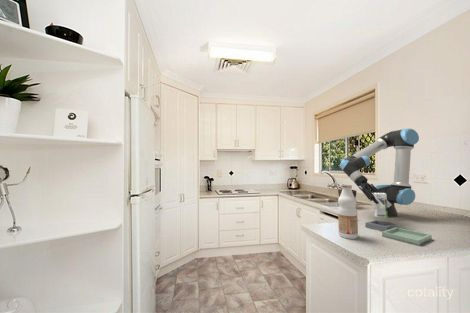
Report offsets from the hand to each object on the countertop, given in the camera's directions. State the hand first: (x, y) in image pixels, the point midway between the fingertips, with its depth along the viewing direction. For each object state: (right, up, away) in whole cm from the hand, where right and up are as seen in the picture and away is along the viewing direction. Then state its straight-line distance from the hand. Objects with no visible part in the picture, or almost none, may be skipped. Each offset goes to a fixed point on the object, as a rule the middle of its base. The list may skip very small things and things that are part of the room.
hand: (386, 207), depth 130 cm
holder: (-2, -14, +2) cm, 14 cm away
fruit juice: (-29, -14, -12) cm, 34 cm away
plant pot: (+9, -16, +62) cm, 65 cm away
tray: (0, -13, -15) cm, 20 cm away
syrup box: (-2, -7, +3) cm, 7 cm away
